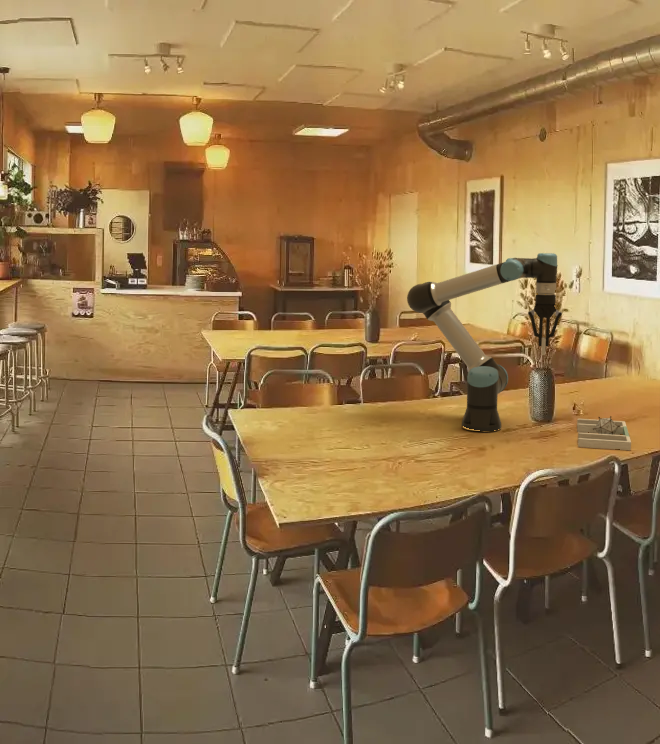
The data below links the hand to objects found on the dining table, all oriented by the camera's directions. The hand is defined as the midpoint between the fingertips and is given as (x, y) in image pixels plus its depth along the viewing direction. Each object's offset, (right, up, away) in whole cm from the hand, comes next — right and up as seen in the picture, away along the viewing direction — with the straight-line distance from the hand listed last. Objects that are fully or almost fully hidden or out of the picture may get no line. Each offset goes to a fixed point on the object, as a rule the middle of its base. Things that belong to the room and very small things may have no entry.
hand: (543, 354), depth 318 cm
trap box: (+18, -31, -13) cm, 38 cm away
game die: (+20, -32, -14) cm, 40 cm away
